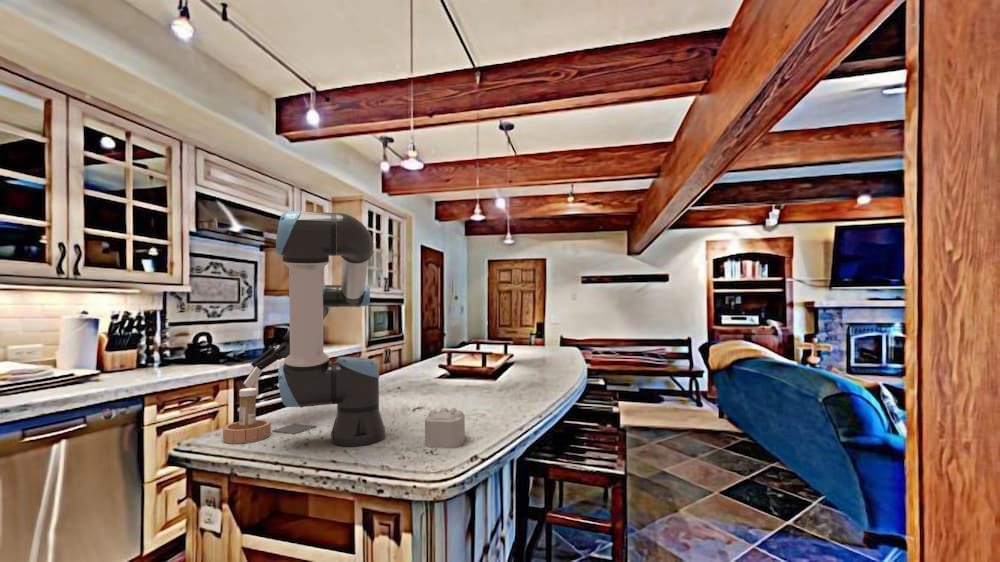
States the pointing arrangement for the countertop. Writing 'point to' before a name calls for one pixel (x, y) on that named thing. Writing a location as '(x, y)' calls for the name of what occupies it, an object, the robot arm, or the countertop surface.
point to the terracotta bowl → (246, 432)
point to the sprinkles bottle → (247, 408)
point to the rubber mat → (293, 428)
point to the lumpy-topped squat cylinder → (444, 428)
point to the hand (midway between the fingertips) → (263, 387)
